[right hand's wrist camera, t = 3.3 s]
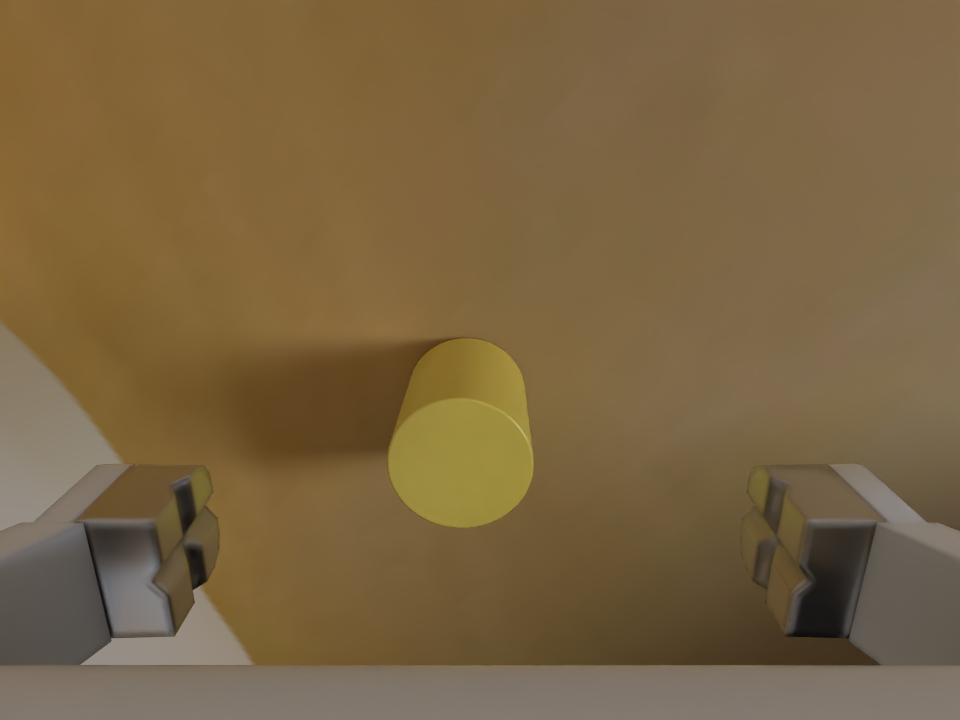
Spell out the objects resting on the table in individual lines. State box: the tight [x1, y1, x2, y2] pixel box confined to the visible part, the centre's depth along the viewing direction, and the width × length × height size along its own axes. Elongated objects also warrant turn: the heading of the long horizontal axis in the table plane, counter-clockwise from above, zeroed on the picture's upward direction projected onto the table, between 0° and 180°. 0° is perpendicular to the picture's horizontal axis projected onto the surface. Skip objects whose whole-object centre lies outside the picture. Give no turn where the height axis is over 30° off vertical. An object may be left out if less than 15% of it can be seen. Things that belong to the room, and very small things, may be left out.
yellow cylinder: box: [387, 338, 534, 528], centre depth 19 cm, size 4×4×5 cm
